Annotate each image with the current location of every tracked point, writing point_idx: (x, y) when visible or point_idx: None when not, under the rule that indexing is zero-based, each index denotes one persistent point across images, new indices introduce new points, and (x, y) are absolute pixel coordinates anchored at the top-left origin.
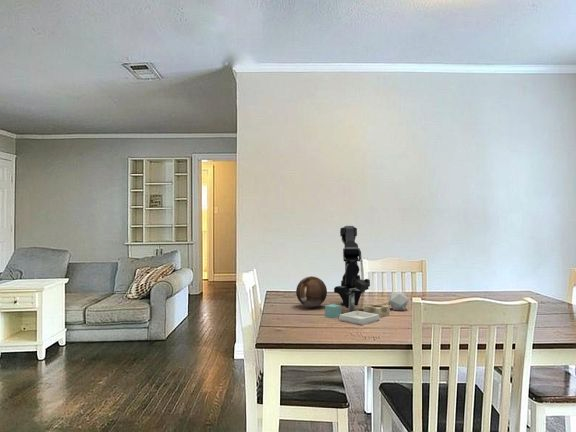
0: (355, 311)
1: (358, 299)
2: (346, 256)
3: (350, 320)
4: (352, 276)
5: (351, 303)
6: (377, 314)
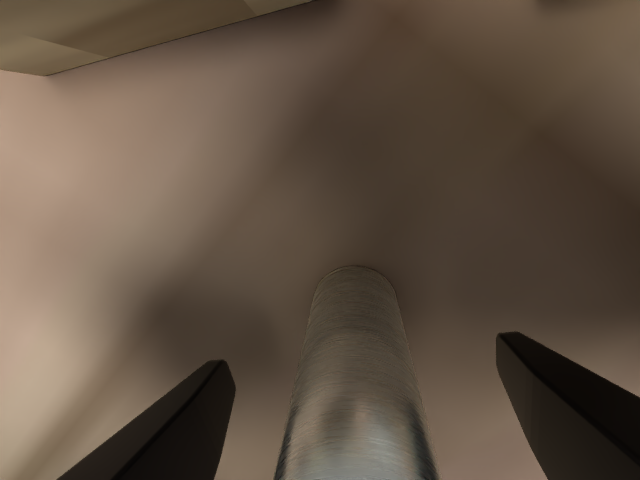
0: None
1: (112, 462)
2: None
3: None
4: None
5: (410, 391)
6: None
